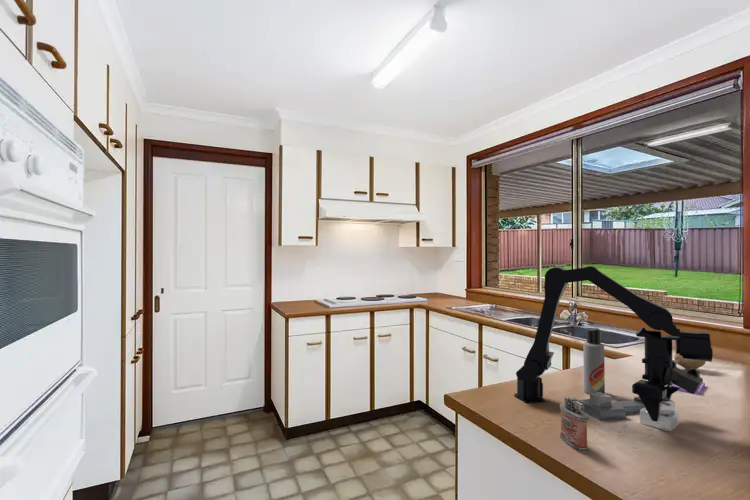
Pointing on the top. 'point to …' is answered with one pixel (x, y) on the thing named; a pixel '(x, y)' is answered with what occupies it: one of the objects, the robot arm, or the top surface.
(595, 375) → the lotion bottle
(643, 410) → the grey square-based fixture
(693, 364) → the potato
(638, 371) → the top surface
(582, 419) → the lighter
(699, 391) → the sponges
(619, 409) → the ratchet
